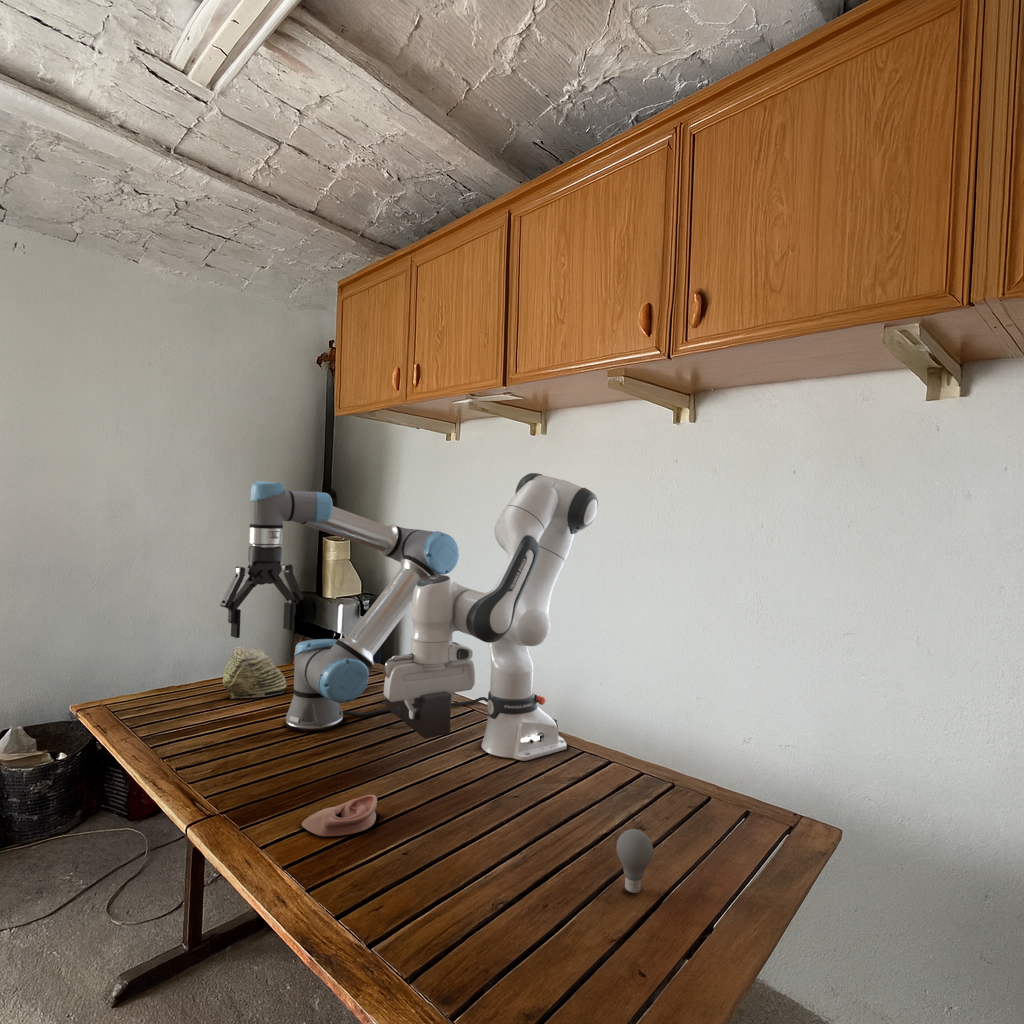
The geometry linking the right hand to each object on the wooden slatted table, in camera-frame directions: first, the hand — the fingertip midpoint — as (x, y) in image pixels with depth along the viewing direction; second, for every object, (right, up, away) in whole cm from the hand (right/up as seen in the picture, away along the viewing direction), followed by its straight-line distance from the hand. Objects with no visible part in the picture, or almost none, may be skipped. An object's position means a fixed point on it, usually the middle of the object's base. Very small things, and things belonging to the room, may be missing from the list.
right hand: (429, 715), depth 136 cm
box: (-4, -3, +6) cm, 7 cm away
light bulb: (+38, -20, -31) cm, 52 cm away
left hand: (-43, +14, +17) cm, 48 cm away
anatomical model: (-16, -17, -13) cm, 26 cm away
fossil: (-63, -14, +62) cm, 89 cm away
